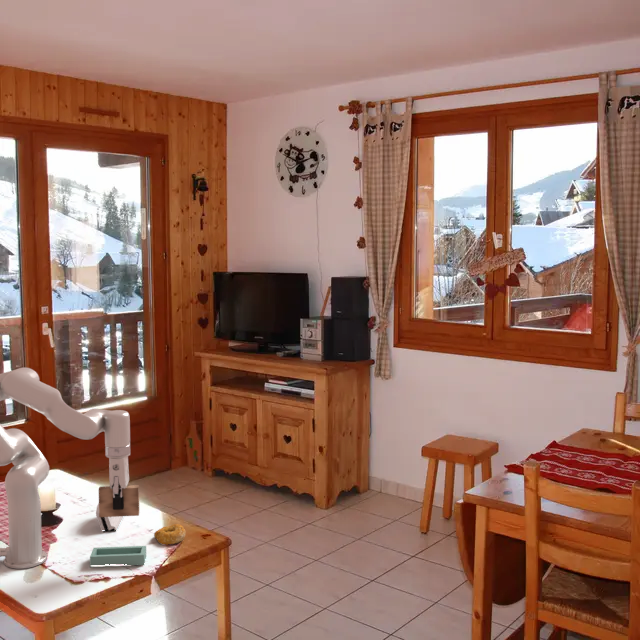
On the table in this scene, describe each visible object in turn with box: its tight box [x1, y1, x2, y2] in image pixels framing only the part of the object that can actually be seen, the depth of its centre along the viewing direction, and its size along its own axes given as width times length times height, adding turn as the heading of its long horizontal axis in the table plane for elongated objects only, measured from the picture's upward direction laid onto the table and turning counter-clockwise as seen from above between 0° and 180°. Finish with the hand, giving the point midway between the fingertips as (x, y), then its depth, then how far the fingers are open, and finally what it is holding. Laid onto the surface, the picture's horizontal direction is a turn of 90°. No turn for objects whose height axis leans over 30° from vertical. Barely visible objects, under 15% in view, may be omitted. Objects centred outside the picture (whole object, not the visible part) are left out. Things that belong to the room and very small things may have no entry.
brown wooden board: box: [98, 484, 140, 517], centre depth 234 cm, size 12×2×9 cm, turn 98°
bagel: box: [153, 523, 186, 546], centre depth 254 cm, size 10×11×5 cm
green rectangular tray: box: [89, 545, 147, 566], centre depth 236 cm, size 16×7×4 cm, turn 98°
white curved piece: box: [95, 502, 124, 531], centre depth 267 cm, size 17×5×10 cm, turn 4°
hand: (119, 507), depth 234 cm, fingers closed on brown wooden board, 2 cm apart
